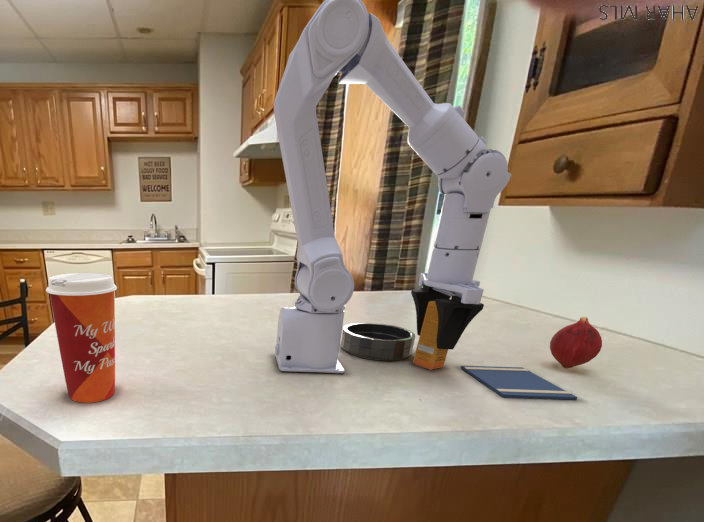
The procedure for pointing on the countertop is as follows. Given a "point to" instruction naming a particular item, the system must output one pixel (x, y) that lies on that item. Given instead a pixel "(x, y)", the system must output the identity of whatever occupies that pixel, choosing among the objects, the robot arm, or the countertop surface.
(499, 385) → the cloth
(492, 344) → the countertop surface
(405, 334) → the pan
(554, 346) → the onion
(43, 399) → the countertop surface
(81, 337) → the coffee cup
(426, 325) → the supplement box
